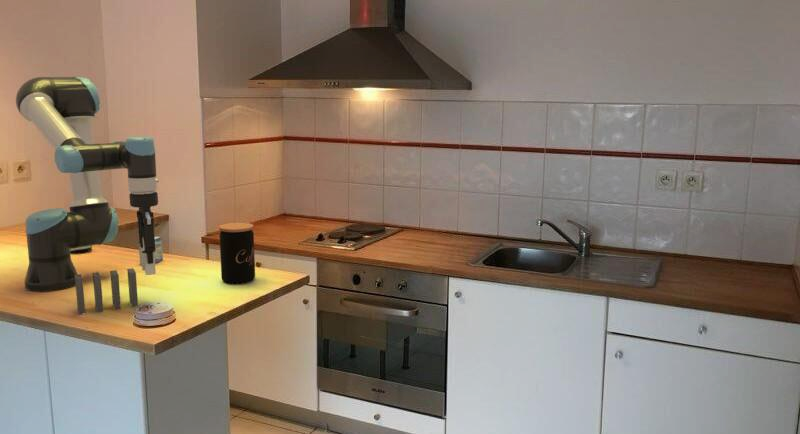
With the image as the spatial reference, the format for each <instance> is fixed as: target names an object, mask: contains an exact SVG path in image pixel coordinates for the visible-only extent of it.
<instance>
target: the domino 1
mask: <svg viewBox="0 0 800 434" xmlns="http://www.w3.org/2000/svg"><path fill="white" fill-rule="evenodd" d="M74 286H75V294H76V296H75V297H76V304H77V305H76V306H77V312H79V313H78V315H84V314H83V313H85V314H86V307H85V306H86V305H85V294H84V280H83V277H82V274H81V273H78V275H75V285H74Z"/></svg>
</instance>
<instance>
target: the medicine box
mask: <svg viewBox="0 0 800 434" xmlns="http://www.w3.org/2000/svg"><path fill="white" fill-rule="evenodd" d="M154 237H155V248H156V250H155V251H154V254H155V263H156V264H158V263H160V262H162V261H163V260H164V259H163V258H164V257H163V244H162V243H163V242H162V236H154ZM137 244H138V255H139V265H140V266H142V258H141V248H142V247H141V246H140V244H139V241H138V243H137ZM157 262H158V263H157Z"/></svg>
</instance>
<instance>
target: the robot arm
mask: <svg viewBox="0 0 800 434" xmlns="http://www.w3.org/2000/svg"><path fill="white" fill-rule="evenodd" d="M15 104H16V108H17V110H18V112H19V113H20V115H21V116H22V117H23V118H24V119H25V120H27V121H29V122H31V123H32V124H33V125H34V126H35V127H36V129H37V130H38V131H39V132H40V133H41V135H42V136H43V138H44V139H45V140H46V141H47V142H48V143H49V144H50V146H51V147H52V148H53V149H54V151H55V152H54V162H55V165H56V168H57V170H58V171H59V172H60V173H63V174H68V175H69V179H70V180H69V181H70V187H71V193H72V202H71V203H70V205H69V206H68V208H69V211H67V210H66V208H62V207H60V208H59V207H58V208H57V207H55V208H48V209H42V210H40V211H37V212H34V213H31V214H30V215H28V216H27V217H26V219H25V230H24V231H25V232H24V233H25V234H26V243H27V253H28V267H27V270H26V275H25V278H24V288H25V289H26V290H28V291H32V292H51V291H52V292H53V291H58V290H59V291H60V290H64V289H68V288H71V287H74V286H76V285H75V275H78V274H79V273H78V271H77V269H76V267H75V265H74V262H73V261H72V258H71V253H70V249H73V248H80V247H86V246H92V247H93V246H96V245H97V246H101V245H104V244H106V243H110V242H112V241H114V240H115V238H116V237H117V234H118V230H119V217H118V216H119V215H118V213H117V210H116V209H115V208H114V207H112V206H109V201H108V200H107V199H105V198H104V197H103V193H102V192H103V191H102V187H101V180H100V174H99V171H109V170H110V171H111V170H120V169H126V170H127V182H128V183H127V184H128V185H127V186H128V191H129V196H128V198H129V205H130V207H133V208H138V210H136V217H137V226H138V242H139V244H140V246H141V247H142V248H141V258H142V265H141V270H142V271H144V272H145V273H144V274H145V275H146V276H152V275H157V271H156V264H155V254H154V251H155V250H156V248H155V237H156V236H155V227H154V226H155V225H154V224H155V222H154V221H155V217H154V212H153V211H152V210H151V208H152V207H155V206H158V204H159V195H158V194H159V193H158V192H157V190H158V185H157V184H158V183H159V181H160V179H157V165H156V164H157V160H156V148H155V142H154V139H153V138H152V137H151V136H128V137H127V138H126V140H121V141H113V142H106V143H105V142H104V143H95V141H94V137H93V136H94V135H93V130H92V123H93V121H94V120H95V119H96V116H95V115H96V114H97V113H98V112H99V111H100V109H101V106H100V105H101V99H100V95H99V92H98V89H97V87H96V85H95V84H94V83H93V82H92V80H90V79H89V78H86V77H78V76H77V77H76V76H38V77H32V78H30V79H29V80H27V81H25V82H24V83H23V84H22V85H21V86H20V87H19V88H18V91H17V92H16V96H15ZM142 237H143V239H144V249H145V250H144V251H143V240H142ZM139 244H138V245H139ZM144 261H145V267H144ZM151 274H152V275H151Z"/></svg>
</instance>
